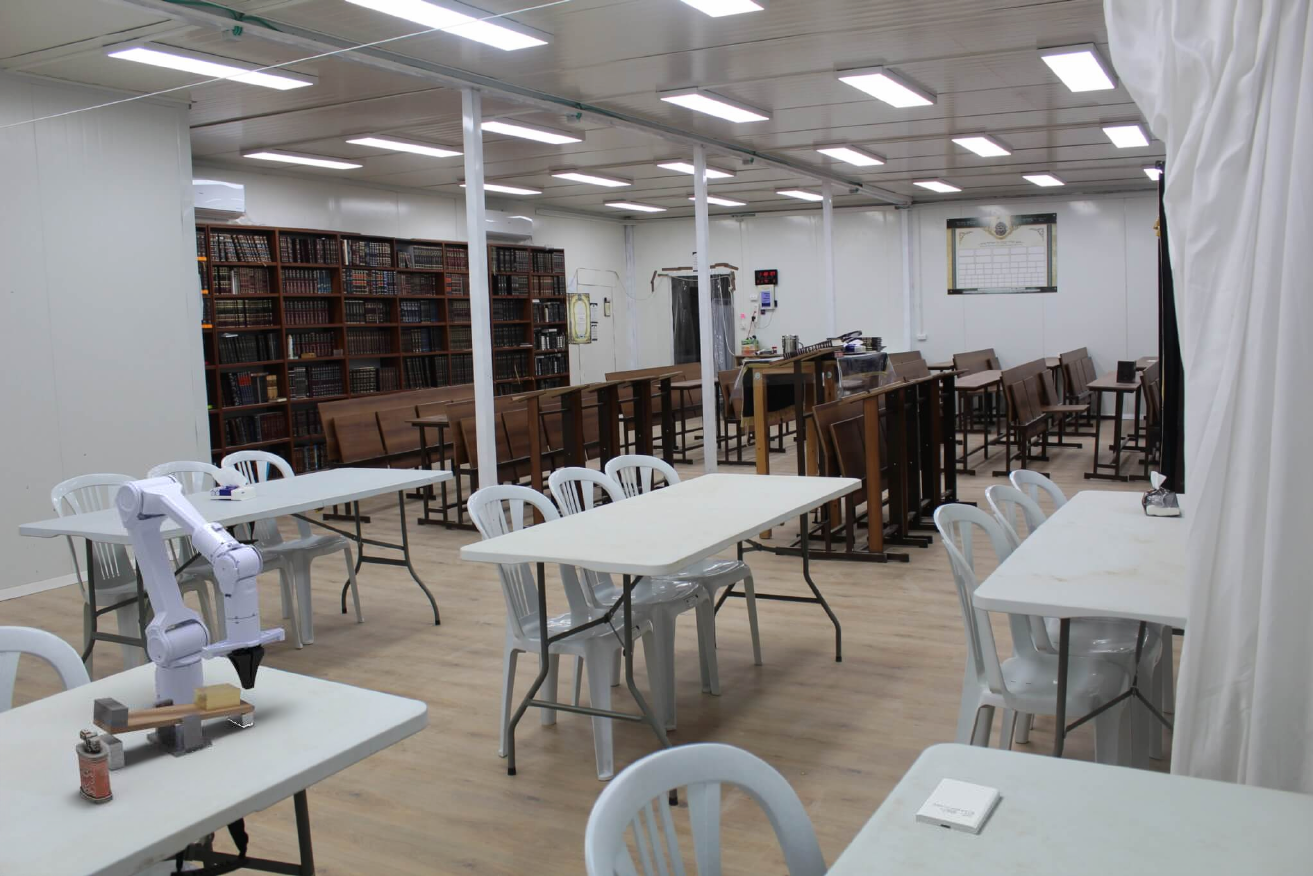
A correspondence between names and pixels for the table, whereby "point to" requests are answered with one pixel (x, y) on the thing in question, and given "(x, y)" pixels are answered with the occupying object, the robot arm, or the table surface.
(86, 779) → the lighter
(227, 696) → the block
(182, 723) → the stand
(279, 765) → the table surface
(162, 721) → the beam
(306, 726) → the table surface
